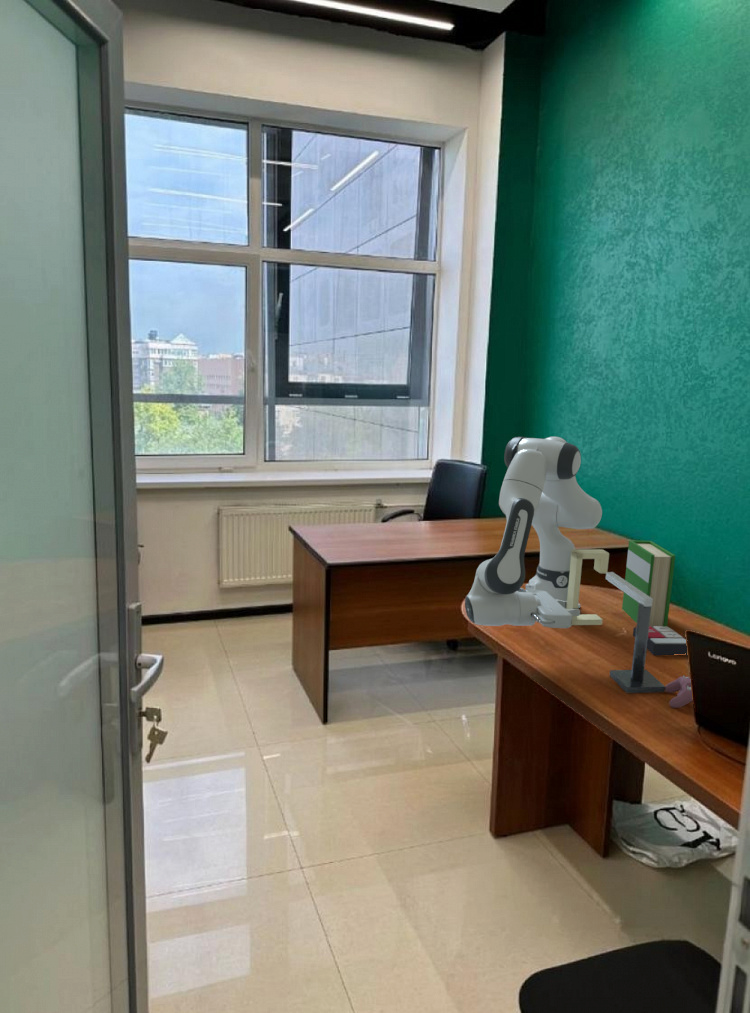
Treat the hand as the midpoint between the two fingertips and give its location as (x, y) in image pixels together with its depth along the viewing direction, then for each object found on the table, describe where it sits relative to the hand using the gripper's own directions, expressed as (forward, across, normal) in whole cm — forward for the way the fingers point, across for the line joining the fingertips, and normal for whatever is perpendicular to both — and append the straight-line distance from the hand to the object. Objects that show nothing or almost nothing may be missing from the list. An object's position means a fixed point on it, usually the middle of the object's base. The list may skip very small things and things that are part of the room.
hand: (575, 608), depth 189 cm
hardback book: (+37, +31, +16) cm, 51 cm away
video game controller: (+19, -23, +16) cm, 34 cm away
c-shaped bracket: (+3, 0, +4) cm, 5 cm away
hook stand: (+12, -6, +15) cm, 21 cm away
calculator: (+32, +10, +16) cm, 37 cm away
